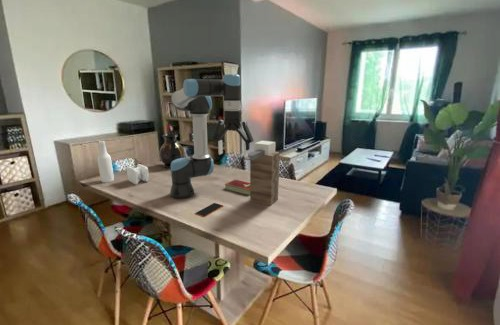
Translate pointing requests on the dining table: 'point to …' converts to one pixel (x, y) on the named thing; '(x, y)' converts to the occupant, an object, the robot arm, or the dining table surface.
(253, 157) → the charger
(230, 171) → the dining table surface
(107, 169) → the alcohol
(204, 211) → the smartphone
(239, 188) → the hardcover book
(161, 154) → the amphora vase
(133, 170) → the cable organizer
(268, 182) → the stand
